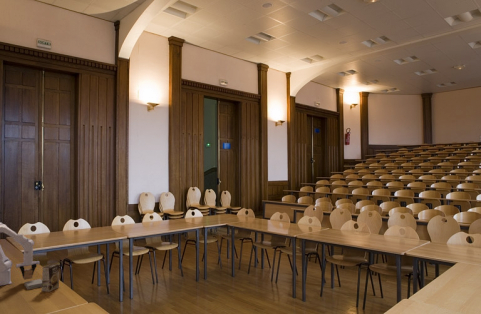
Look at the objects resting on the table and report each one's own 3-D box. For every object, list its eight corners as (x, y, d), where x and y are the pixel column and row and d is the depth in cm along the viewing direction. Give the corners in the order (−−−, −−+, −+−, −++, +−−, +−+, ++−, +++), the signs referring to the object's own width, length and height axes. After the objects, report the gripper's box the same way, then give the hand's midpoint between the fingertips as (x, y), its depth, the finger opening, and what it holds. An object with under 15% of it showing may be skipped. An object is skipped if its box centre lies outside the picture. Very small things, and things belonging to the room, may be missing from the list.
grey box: (24, 286, 249) (24, 282, 249) (40, 283, 255) (40, 278, 255) (27, 290, 241) (27, 285, 241) (44, 286, 248) (44, 282, 248)
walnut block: (22, 277, 255) (23, 269, 255) (30, 276, 259) (31, 268, 259) (24, 279, 252) (24, 271, 252) (32, 278, 255) (32, 270, 255)
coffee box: (49, 292, 237) (50, 268, 238) (41, 291, 239) (42, 267, 239) (59, 287, 246) (59, 264, 247) (51, 286, 248) (51, 263, 248)
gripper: (17, 259, 248) (17, 279, 247) (40, 256, 257) (40, 275, 257) (15, 257, 253) (15, 276, 253) (38, 254, 262) (37, 272, 262)
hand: (27, 275), depth 255 cm, fingers closed on walnut block, 5 cm apart
